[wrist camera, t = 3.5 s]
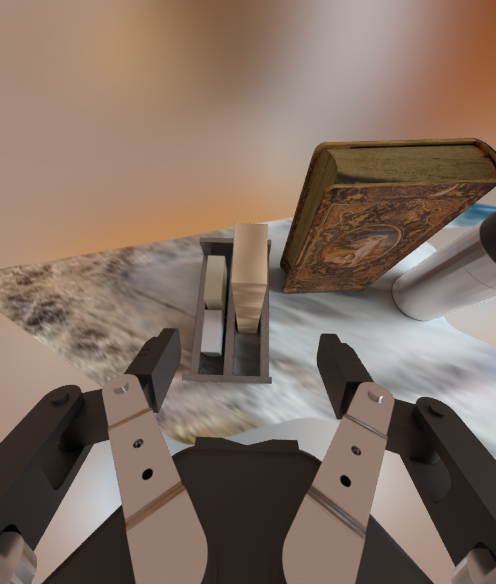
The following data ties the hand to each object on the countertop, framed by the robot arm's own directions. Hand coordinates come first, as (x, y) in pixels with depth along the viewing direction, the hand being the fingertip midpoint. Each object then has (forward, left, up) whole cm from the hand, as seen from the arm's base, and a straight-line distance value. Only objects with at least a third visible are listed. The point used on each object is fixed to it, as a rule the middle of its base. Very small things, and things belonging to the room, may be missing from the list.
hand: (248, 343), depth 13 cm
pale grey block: (+5, -5, -27) cm, 28 cm away
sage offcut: (+5, -12, -26) cm, 30 cm away
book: (-14, -17, -27) cm, 34 cm away
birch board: (0, -9, -26) cm, 28 cm away
